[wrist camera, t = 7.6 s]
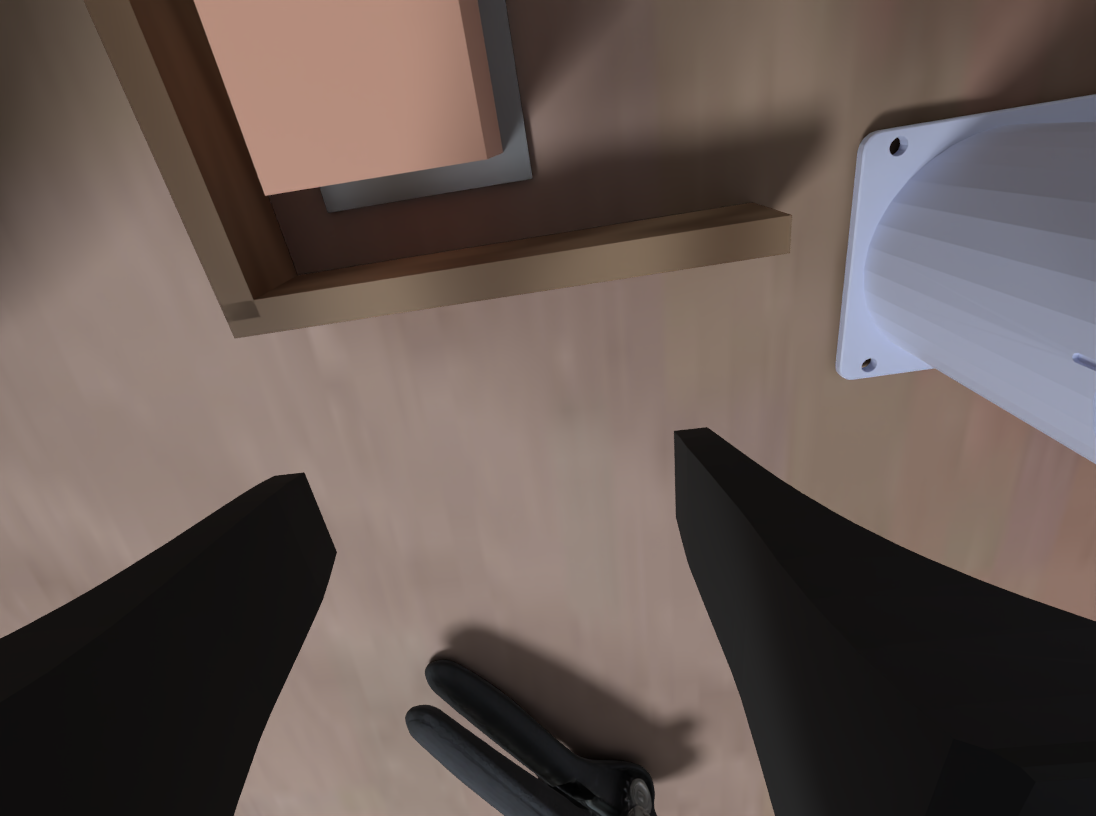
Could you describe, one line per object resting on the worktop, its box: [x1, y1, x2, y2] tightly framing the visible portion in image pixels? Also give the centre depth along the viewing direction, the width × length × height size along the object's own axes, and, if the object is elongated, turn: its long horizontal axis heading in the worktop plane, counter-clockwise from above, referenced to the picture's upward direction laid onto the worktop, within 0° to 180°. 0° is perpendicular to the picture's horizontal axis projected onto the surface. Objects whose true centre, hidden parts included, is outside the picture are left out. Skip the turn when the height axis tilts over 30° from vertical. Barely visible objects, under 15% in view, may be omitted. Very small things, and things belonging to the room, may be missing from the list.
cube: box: [194, 0, 503, 196], centre depth 13 cm, size 5×5×5 cm
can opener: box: [405, 660, 657, 816], centre depth 27 cm, size 18×7×6 cm, turn 40°
